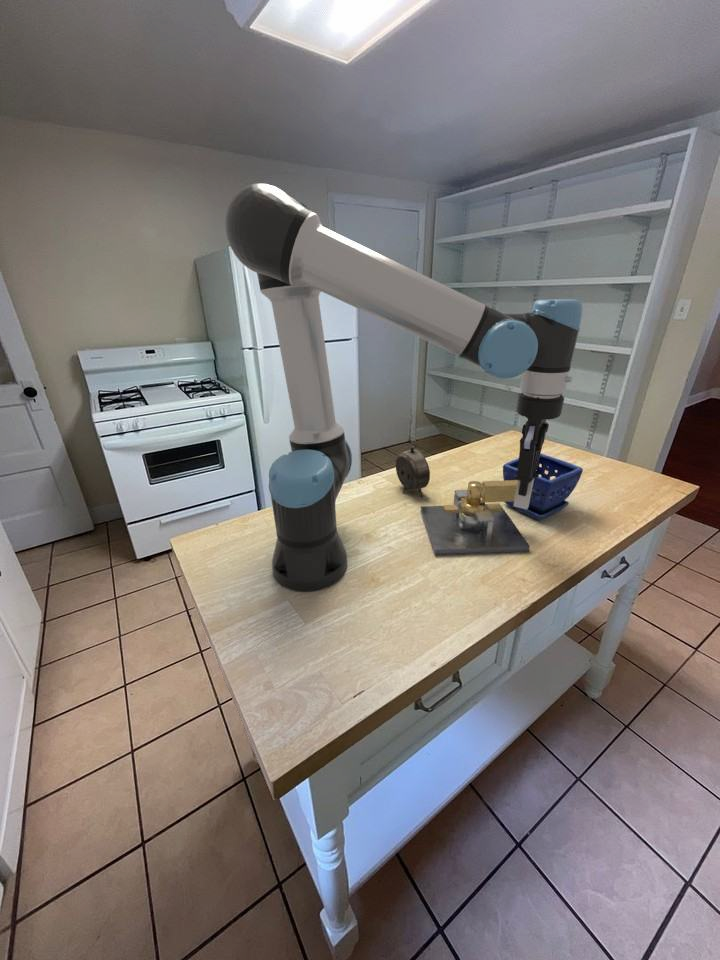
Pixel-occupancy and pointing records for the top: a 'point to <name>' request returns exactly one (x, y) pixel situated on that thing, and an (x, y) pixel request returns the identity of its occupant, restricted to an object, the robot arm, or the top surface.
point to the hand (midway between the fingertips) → (521, 506)
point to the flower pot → (546, 485)
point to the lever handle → (485, 496)
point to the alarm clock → (412, 469)
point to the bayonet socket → (471, 531)
